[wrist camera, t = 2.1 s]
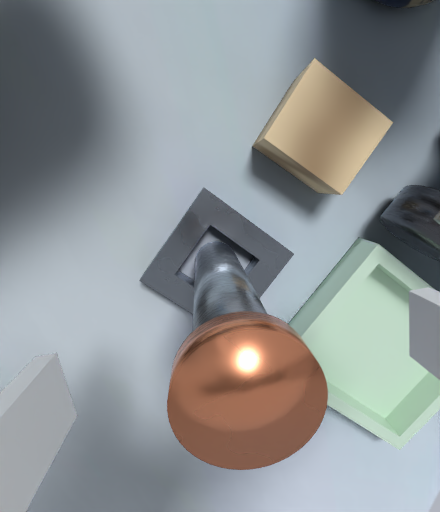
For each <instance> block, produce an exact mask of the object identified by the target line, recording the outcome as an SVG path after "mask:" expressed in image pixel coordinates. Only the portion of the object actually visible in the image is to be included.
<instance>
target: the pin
mask: <svg viewBox="0 0 440 512" xmlns="http://www.w3.org/2000/svg"><path fill="white" fill-rule="evenodd" d="M327 401H328V388H327V382H326V378H325V375H324V372H323V370H322V368H321V366H320V364H319V363H318V361H317V360H316V358H315V357H314V355H313V354H312V352H311V351H310V349H309V348H308V347H307V345H306V344H305V342H304V341H303V339H302V338H301V336H300V335H299V334H298V333H297V332H296V331H295V330H294V329H293V328H292V327H291V326H290V325H288V324H287V323H286V322H284V321H282V320H280V319H279V318H276V317H274V316H271V315H268V314H267V312H266V311H265V309H264V307H263V305H262V303H261V301H260V299H259V297H258V295H257V294H256V292H255V290H254V288H253V286H252V284H251V282H250V280H249V279H248V277H247V275H246V273H245V271H244V269H243V267H242V265H241V263H240V262H239V260H238V258H237V256H236V254H235V252H234V250H233V249H232V248H231V247H230V246H229V245H227V244H225V243H223V242H218V241H215V242H210V243H207V244H205V245H204V246H203V247H201V248H200V250H199V251H198V253H197V255H196V259H195V283H194V310H193V332H192V333H191V334H190V335H189V336H188V337H187V338H186V339H185V341H184V342H183V343H182V345H181V346H180V348H179V350H178V352H177V354H176V356H175V359H174V362H173V366H172V372H171V379H170V386H169V393H168V400H167V412H168V418H169V422H170V425H171V428H172V430H173V432H174V434H175V436H176V438H177V439H178V440H179V442H180V443H181V444H182V445H183V446H184V448H185V449H186V450H187V451H189V452H190V453H191V454H192V455H194V456H195V457H197V458H199V459H200V460H202V461H204V462H206V463H209V464H211V465H214V466H217V467H221V468H227V469H236V470H246V469H255V468H261V467H265V466H269V465H272V464H274V463H277V462H279V461H281V460H284V459H286V458H287V457H289V456H291V455H292V454H294V453H295V452H297V451H298V450H299V449H300V448H302V447H303V446H304V445H305V444H306V443H307V442H308V441H309V440H310V439H311V438H312V436H313V435H314V434H315V432H316V431H317V429H318V428H319V426H320V424H321V422H322V420H323V417H324V415H325V411H326V408H327Z"/></svg>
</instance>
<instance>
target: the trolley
mask: <svg viewBox="0 0 440 512" xmlns="http://www.w3.org/2000/svg"><path fill="white" fill-rule="evenodd" d="M380 221H381V223H382V224H383V225H384V226H385V227H386V228H387V229H388V230H389V231H390V232H391V233H392V234H393V235H395V236H396V237H397V238H399V239H400V240H401V241H403V242H404V243H406V244H407V245H409V246H411V247H412V248H414V249H416V250H417V251H419V252H421V253H423V254H425V255H427V256H429V257H431V258H433V259H435V260H437V261H440V190H437V189H433V188H430V187H425V186H419V185H410V186H406V187H404V188H403V189H402V190H401V191H400V193H399V194H398V195H397V196H396V198H395V199H394V200H393V201H392V202H391V204H390V205H389V206H388V207H387V209H386V210H385V211H384V212H383V213H382V215H381V216H380Z"/></svg>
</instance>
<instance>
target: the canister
mask: <svg viewBox="0 0 440 512" xmlns="http://www.w3.org/2000/svg"><path fill="white" fill-rule="evenodd" d="M375 1H377V2H379V3H382V4H385V5H388V6H392V7H398V8H408V7H415V6H420V5H424V4H427V3H430V2H432V1H435V0H375Z"/></svg>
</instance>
